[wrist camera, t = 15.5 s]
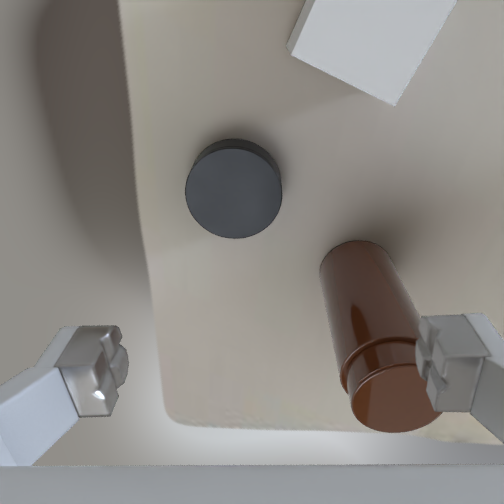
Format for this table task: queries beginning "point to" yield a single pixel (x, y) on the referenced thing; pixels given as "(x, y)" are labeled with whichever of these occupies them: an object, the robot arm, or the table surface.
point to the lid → (234, 189)
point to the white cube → (368, 40)
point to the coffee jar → (375, 338)
